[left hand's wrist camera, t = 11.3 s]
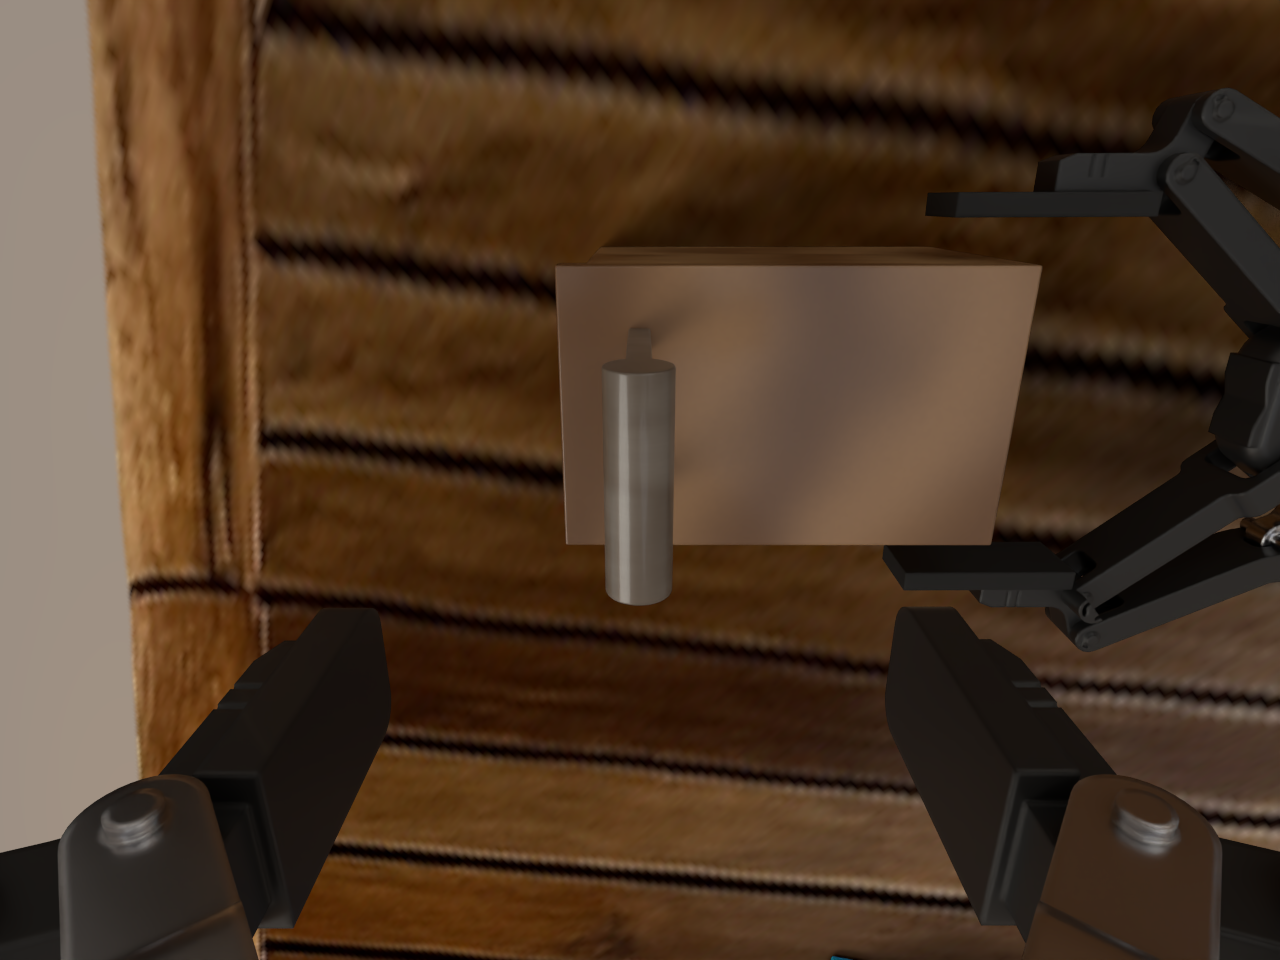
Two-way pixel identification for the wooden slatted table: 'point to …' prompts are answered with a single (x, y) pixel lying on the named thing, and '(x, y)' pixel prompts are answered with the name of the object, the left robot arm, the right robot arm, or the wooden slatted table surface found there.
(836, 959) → the model building
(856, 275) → the lid
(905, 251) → the chest
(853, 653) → the wooden slatted table surface
